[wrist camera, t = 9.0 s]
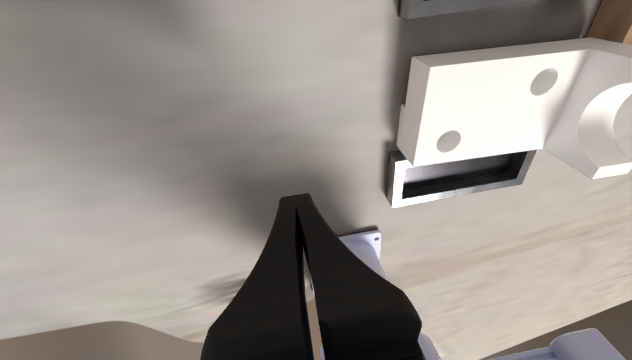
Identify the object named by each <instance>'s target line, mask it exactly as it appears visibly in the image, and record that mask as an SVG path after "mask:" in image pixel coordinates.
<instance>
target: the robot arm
mask: <svg viewBox="0 0 632 360" xmlns="http://www.w3.org/2000/svg"><path fill="white" fill-rule="evenodd" d="M303 248H304V252H305V256H306V260H307V264H308V268H309V273H310V278H311V283H312V288H313V293H314V296H315V300H316V307H317V313H318V319H319V326H320V332H321V338H322V344H323V346H321V347H320V352H321V359H322V360H441V359H440V357H439V354H438V352H437V350H436V349H435V347H434V345H433V343H432V341H431V340H430V338H429V337H428V336H426V335H425V334H422V333H421V332H420V331H421V327H422V322H421V320H420V317H419V315H418V313H417V311H416V310H415V308H414V306H413V305H412V303H411V302H410V300H409V299H408V297H407V296H406V295H405V293H404V292H403V291H402V290H400V289H399V288H397V287H396V286H394V285H393V284H391V283H390V282H388V281H387V278H386V276H385V273H384V271H383V268H382V266H381V263H380V249H381V232H380V231H379V230H373V231H368V232H362V233H357V234H351V235H346V236H341V237H337V236H336V234H335V233H334V232H333V231H332V230H331V228H330V227H329V226H328V224H327V223H326V222H325V220H324V219H323V217H322V216H321V214H320V213H319V211H318V210H317V208H316V206H315V204H314V203H313V201H312V198H311V196H310V194H308V193H305V194H299V195H293V196H287V197H282V198H281V199H280V201H279V207H278V211H277V215H276V218H275V221H274V224H273V227H272V230H271V233H270V235H269V238H268V240H267V242H266V245H265V247H264V249H263V251H262V253H261V255H260V257H259V259H258V261H257V263H256V265H255V266H254V268H253V270H252V271H251V273H250V275H249V276H248V278H247V280H246V281H245V283H244V284H243V286H242V287H241V289H240V290H239V291H238V293H237V294H236V296H235V297H234V298H233V300H232V301H231V302H230V304H229V305H228V306H227V308H226V309H225V310H224V311H223V312H222V314H221V315H220V316H219V317H218V318H217V320H216V321H215V322H214V323H213V324H212V326H211V327H210V328H209V330H208V333H207V336H206V339H205V343H204V346H203V349H202V354H201V359H200V360H314V356H313V348H312V342H311V334H310V327H309V319H308V312H307V305H306V297H305V282H304V259H303ZM488 360H625V359H624V358H623V357H622V355H621V354H620V353H619V352H618V351H617V350H616V349H615V348H614V347H613V346H612V345H611V344H610V343H609V342H608V341H607V340H606V338H604V336H602V334H601V333H600V332H599V331H598V330H597V329H595V328H590V329H585V330H580V331H575V332H571V333H566V334H563V335H560V336H558V337H557V338H555V339H554V340H553V341H552V342H551V344H550V346H549V347H544V348H539V349H535V350H530V351H525V352H521V353H516V354H512V355H507V356H502V357H497V358H492V359H488Z"/></svg>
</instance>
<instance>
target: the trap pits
mask: <svg viewBox="0 0 632 360" xmlns="http://www.w3.org/2000/svg"><path fill="white" fill-rule="evenodd" d="M533 1H540V0H399V12H398V16H399V17H402V18H405V19H414V18H421V17H428V16H435V15H442V14H449V13H456V12H463V11H470V10H477V9H484V8H491V7H498V6H505V5H512V4H519V3H526V2H533ZM536 151H537V149H536V150H529V151H522V152H515V153H508V154H501V155H494V156H487V157H480V158H473V159H466V160H459V161H452V162H445V163H438V164H431V165H424V166H417V167H413V166H412V165H411V164H410V162H409V161H408V160H407V159H406V157H405V156H404V155H403V153H402V152H401V151H395V152H389V164H388V179H387V195H386V198H387V200H388V201H389V203H390V205H391V207H392V208H394V207H400V206H405V205H411V204H416V203H422V202H427V201H432V200H438V199H443V198H449V197H454V196H460V195H465V194H471V193H476V192H482V191H487V190H493V189H498V188H504V187H509V186H515V185H520V184H522V183H523V180H524V178H525V176H526V173H527V171H528V169H529V167H530V164H531V162H532V160H533V157H534V155H535V153H536Z"/></svg>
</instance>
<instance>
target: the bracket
mask: <svg viewBox="0 0 632 360" xmlns="http://www.w3.org/2000/svg"><path fill="white" fill-rule="evenodd" d="M631 94H632V45H628V44H623V43H618V42H612V41H607V40H602V39H597V38H591V37H589V38H580V39H571V40H561V41H552V42H543V43H534V44H525V45H515V46H506V47H497V48H488V49H479V50H470V51H460V52H451V53H442V54H433V55H424V56H415V57H412V59H411V66H410V74H409V81H408V89H407V96H406V104H402V105H401V112H400V120H399V128H398V136H397V144H396V146H397V147H398V148H399V150H400V151H401V152H402V153H403V155H404V156H405V157H406V159H407V160H408V161H409V162H410V164H411V165H412V166H413V167H417V166H424V165H431V164H438V163H445V162H452V161H459V160H466V159H473V158H480V157H487V156H494V155H501V154H508V153H515V152H522V151H529V150H536V149H544V150H546V151H547V152H549V153H551V154H552V155H554V156H555V157H557V158H559V159H560V160H562V161H563V162H565V163H567V164H568V165H570V166H572V167H573V168H575V169H576V170H578V171H580V172H581V173H583V174H584V175H586V176H588V177H589V178H591V179H595V178H602V177H608V176H615V175H621V174H628V172H629V171H630V170H631V168H632V159H631V158H630V157H628V156H627V155H626V154H625V153H624V152H623V151H622V150H621V149H620V148H619V146H618V144H617V143H616V140H615V138H614V133H613V122H614V118H615V115H616V112H617V110H618V109H619V107H620V105H621V104H622V103H623V101H624V100H625V99H626V98H627V97H628V96H629V95H631Z"/></svg>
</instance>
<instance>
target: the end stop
mask: <svg viewBox="0 0 632 360" xmlns="http://www.w3.org/2000/svg"><path fill="white" fill-rule="evenodd" d="M589 37H591V38H597V39H602V40H607V41H612V42H618V43H623V44H628V45H632V0H602V2H601V5H600V7H599V9H598V11H597V14H596V16H595V18H594V21H593V23H592V25H591V27H590V30H589V32H588V34H587V37H586V38H589Z"/></svg>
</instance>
